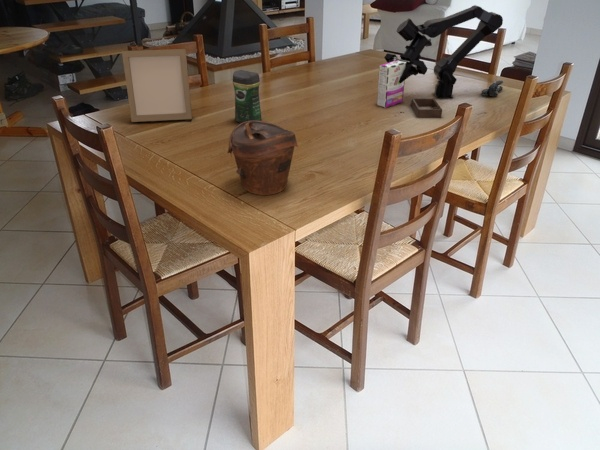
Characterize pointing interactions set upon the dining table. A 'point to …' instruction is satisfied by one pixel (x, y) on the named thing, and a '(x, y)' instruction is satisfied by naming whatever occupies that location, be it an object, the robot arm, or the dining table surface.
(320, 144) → the dining table surface
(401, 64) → the candy bar box
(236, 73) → the coffee jar
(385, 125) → the dining table surface
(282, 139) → the brown bucket
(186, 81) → the photo frame
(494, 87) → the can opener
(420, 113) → the compartment
